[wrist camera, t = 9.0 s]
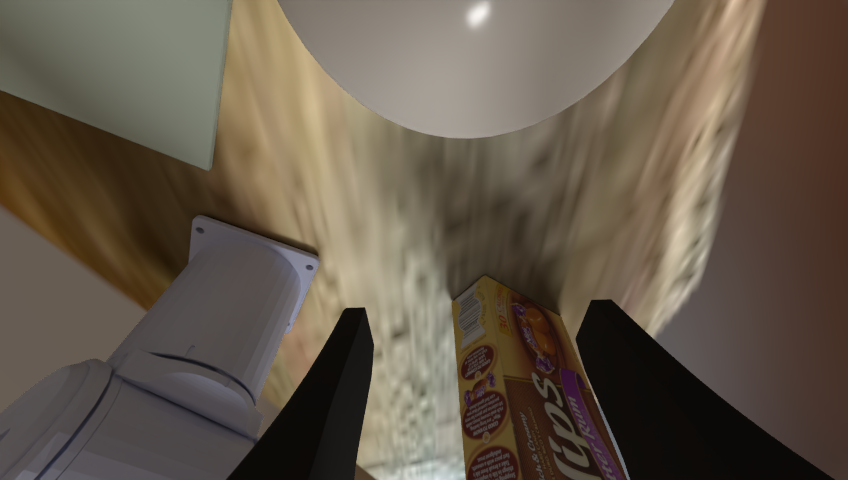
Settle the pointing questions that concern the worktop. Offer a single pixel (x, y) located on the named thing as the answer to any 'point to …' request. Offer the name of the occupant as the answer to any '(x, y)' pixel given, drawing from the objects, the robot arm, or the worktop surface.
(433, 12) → the lid
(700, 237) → the worktop surface
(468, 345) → the candy box
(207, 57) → the mat
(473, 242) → the worktop surface
